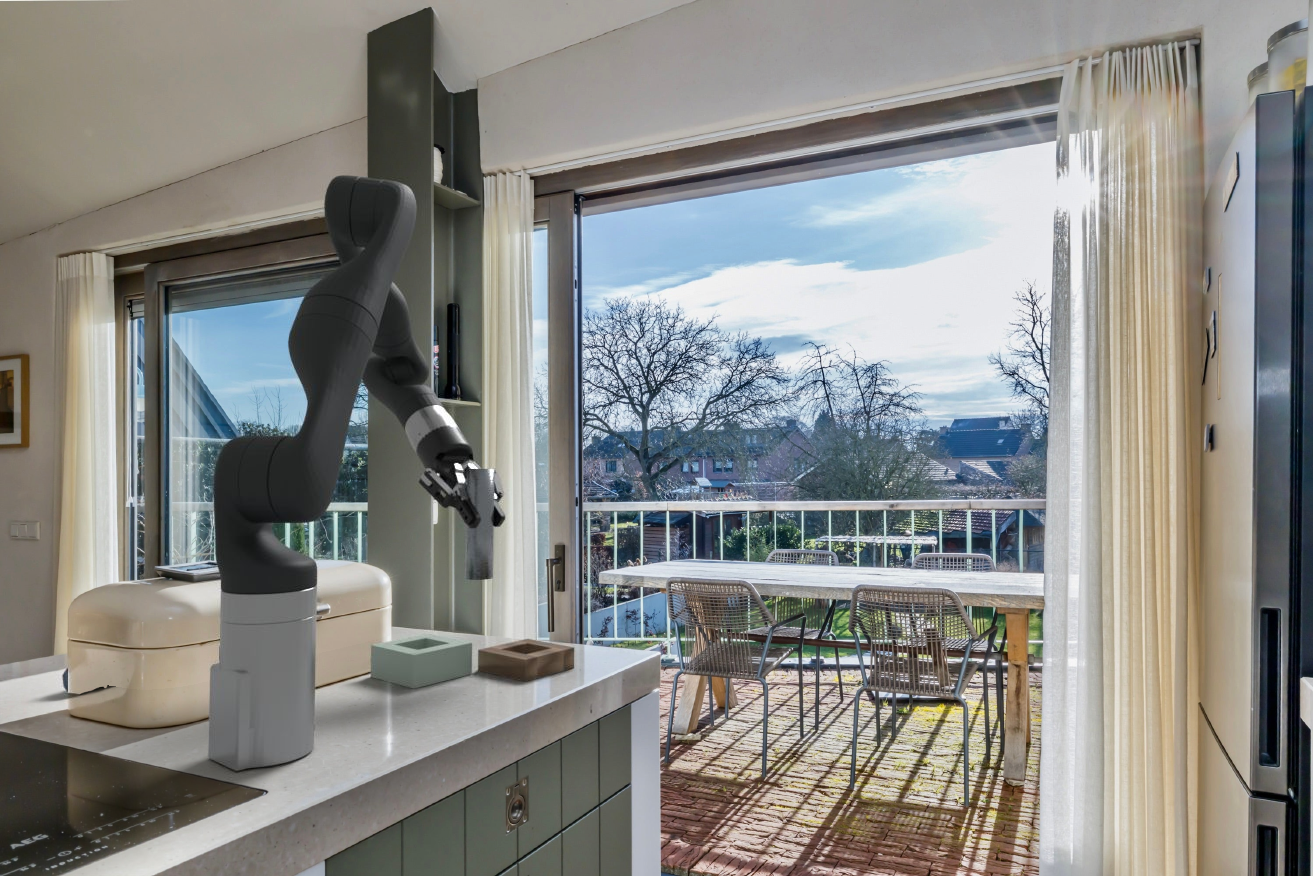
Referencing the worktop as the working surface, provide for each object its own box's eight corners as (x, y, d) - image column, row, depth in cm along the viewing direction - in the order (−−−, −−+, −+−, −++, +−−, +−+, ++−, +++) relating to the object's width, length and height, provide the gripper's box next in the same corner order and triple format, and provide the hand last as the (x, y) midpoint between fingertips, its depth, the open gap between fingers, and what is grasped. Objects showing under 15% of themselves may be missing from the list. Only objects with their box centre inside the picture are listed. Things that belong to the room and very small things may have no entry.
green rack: (413, 688, 112) (414, 655, 112) (370, 676, 118) (371, 644, 118) (471, 674, 120) (472, 642, 120) (428, 663, 126) (428, 633, 126)
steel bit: (477, 580, 118) (479, 468, 119) (459, 578, 121) (461, 468, 121) (498, 577, 121) (500, 468, 122) (480, 575, 124) (482, 468, 124)
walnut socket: (525, 681, 116) (525, 659, 116) (477, 670, 122) (478, 649, 122) (574, 667, 124) (574, 647, 124) (527, 657, 130) (527, 638, 130)
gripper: (409, 421, 121) (461, 507, 113) (485, 426, 132) (537, 504, 124) (387, 458, 124) (436, 544, 116) (463, 459, 135) (513, 538, 127)
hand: (488, 523), depth 120 cm, fingers closed on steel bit, 4 cm apart
